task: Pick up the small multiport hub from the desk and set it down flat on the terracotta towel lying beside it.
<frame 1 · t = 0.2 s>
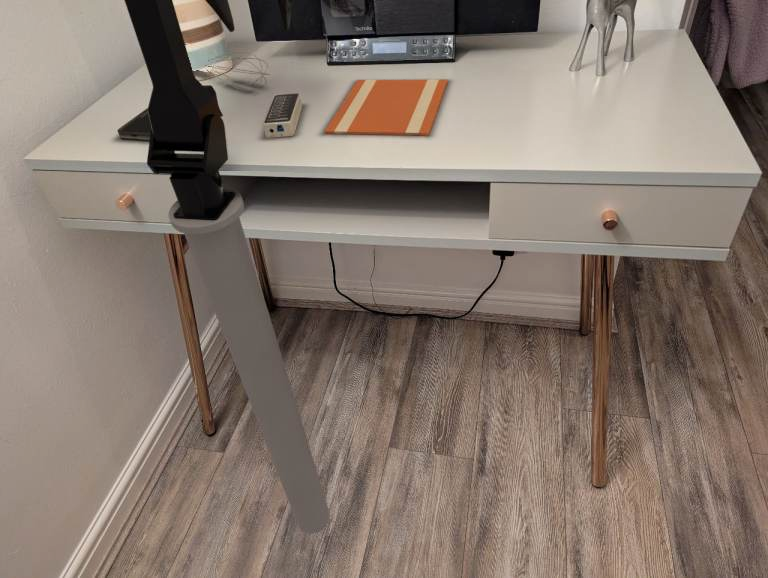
hand: (259, 30, 90), 12 cm above the table, tool pointing down, fingers open, 9 cm apart
multiport hub: (285, 122, 93), on the table
kitchen whisk: (210, 79, 110), on the table
towel: (390, 106, 93), on the table
phone: (163, 120, 97), on the table
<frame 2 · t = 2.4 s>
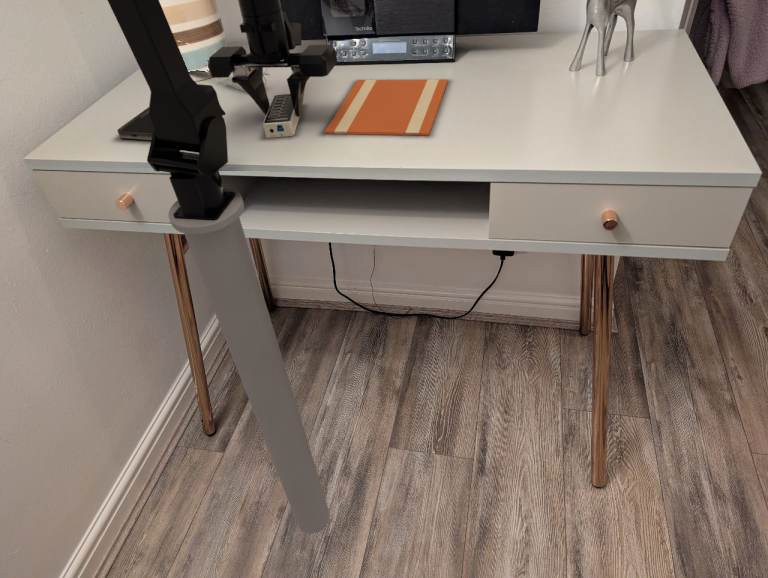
hand: (283, 115, 92), 1 cm above the table, tool pointing down, fingers closed on multiport hub, 5 cm apart
multiport hub: (285, 122, 93), on the table, touching gripper
everything else where it was.
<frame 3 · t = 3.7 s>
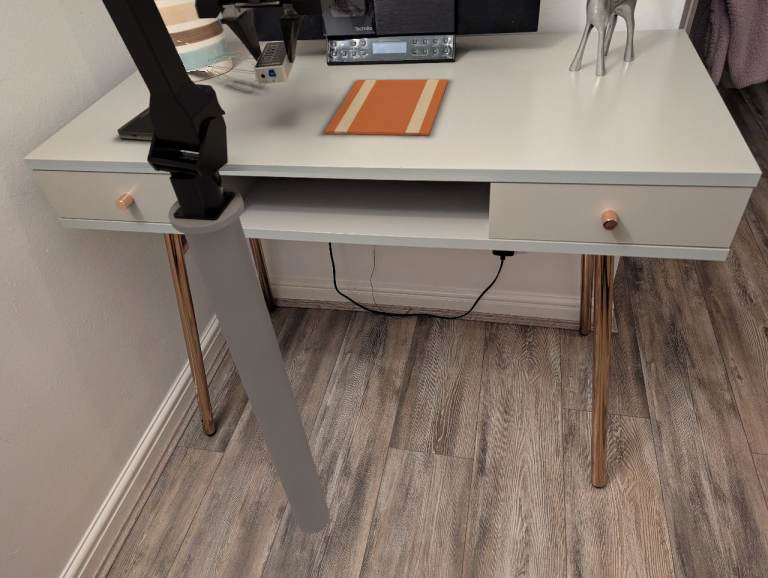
hand: (276, 62, 86), 9 cm above the table, tool pointing down, fingers closed on multiport hub, 5 cm apart
multiport hub: (277, 70, 87), point 8 cm above the table, touching gripper
everything else where it was.
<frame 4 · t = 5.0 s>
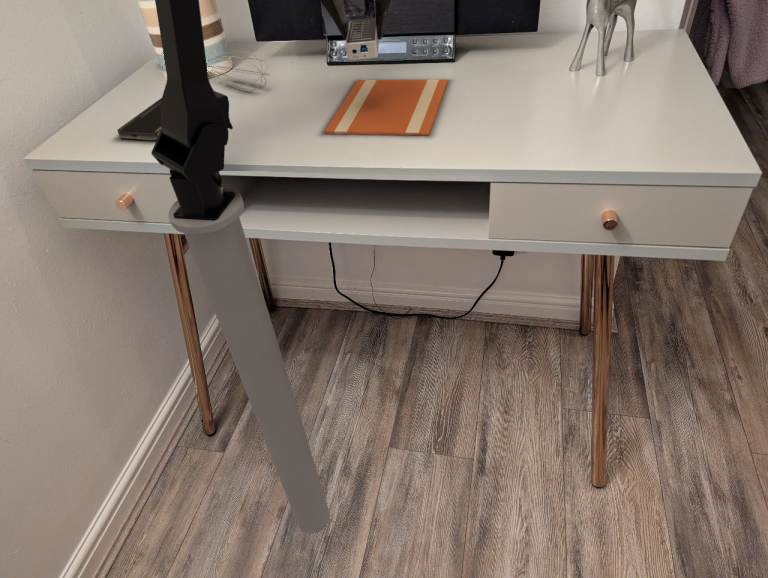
hand: (363, 39, 86), 11 cm above the table, tool pointing down, fingers closed on multiport hub, 5 cm apart
multiport hub: (364, 47, 87), point 10 cm above the table, touching gripper
everything else where it was.
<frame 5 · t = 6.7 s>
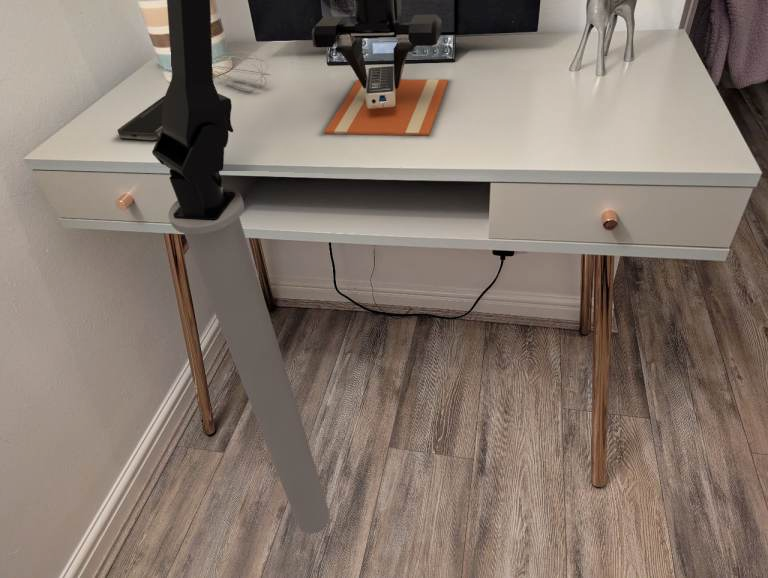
hand: (381, 87, 91), 3 cm above the table, tool pointing down, fingers closed on multiport hub, 5 cm apart
multiport hub: (382, 94, 92), point 2 cm above the table, touching gripper
everything else where it was.
when the fingers open (1 cm above the table, at t = 7.7 s): multiport hub stays where it is, resting on towel.
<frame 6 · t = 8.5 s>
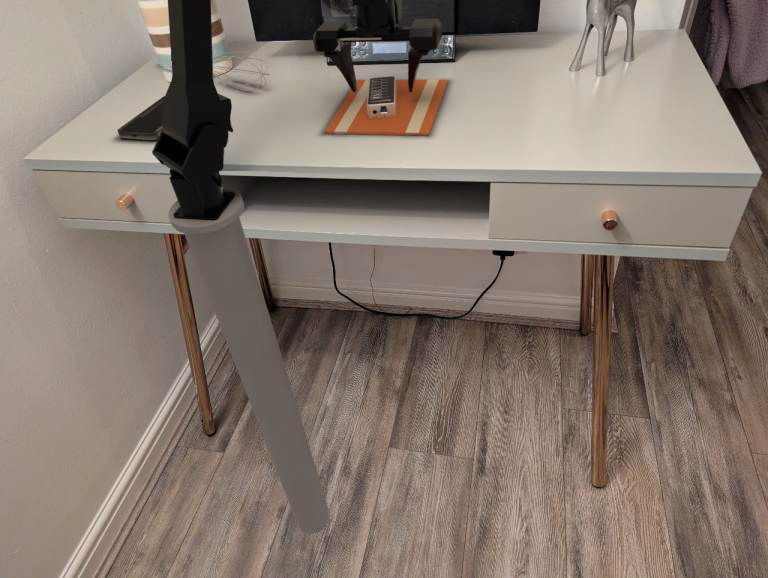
hand: (382, 91, 92), 2 cm above the table, tool pointing down, fingers open, 9 cm apart
multiport hub: (383, 104, 93), resting on towel
everything else where it was.
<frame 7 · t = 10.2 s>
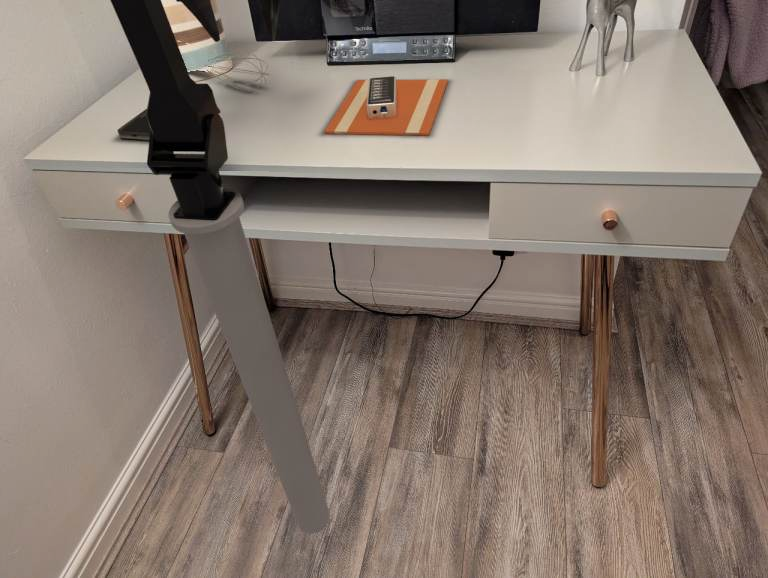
hand: (245, 40, 87), 12 cm above the table, tool pointing down, fingers open, 9 cm apart
nothing on the table moved.
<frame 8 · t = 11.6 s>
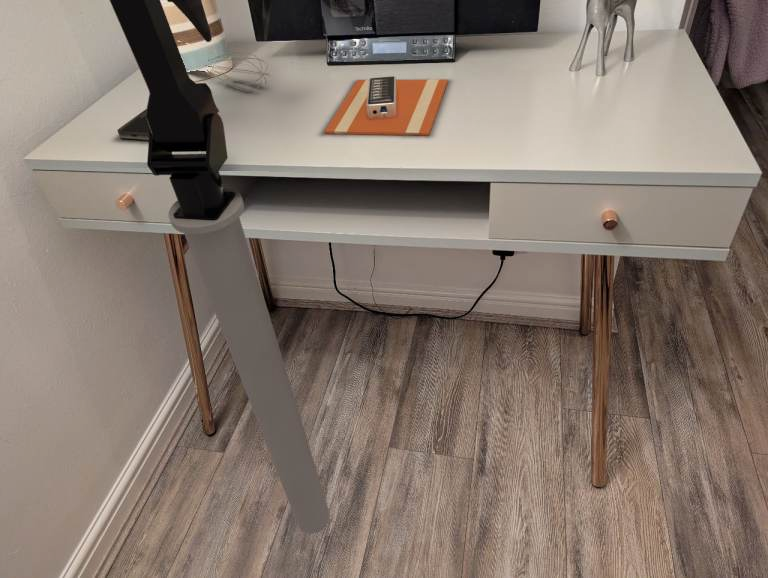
hand: (236, 40, 87), 12 cm above the table, tool pointing down, fingers open, 9 cm apart
nothing on the table moved.
at the end: multiport hub inside the target area on the towel (1.1 cm from its centre), point 0.2 cm above the towel's base; the gripper is holding nothing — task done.
